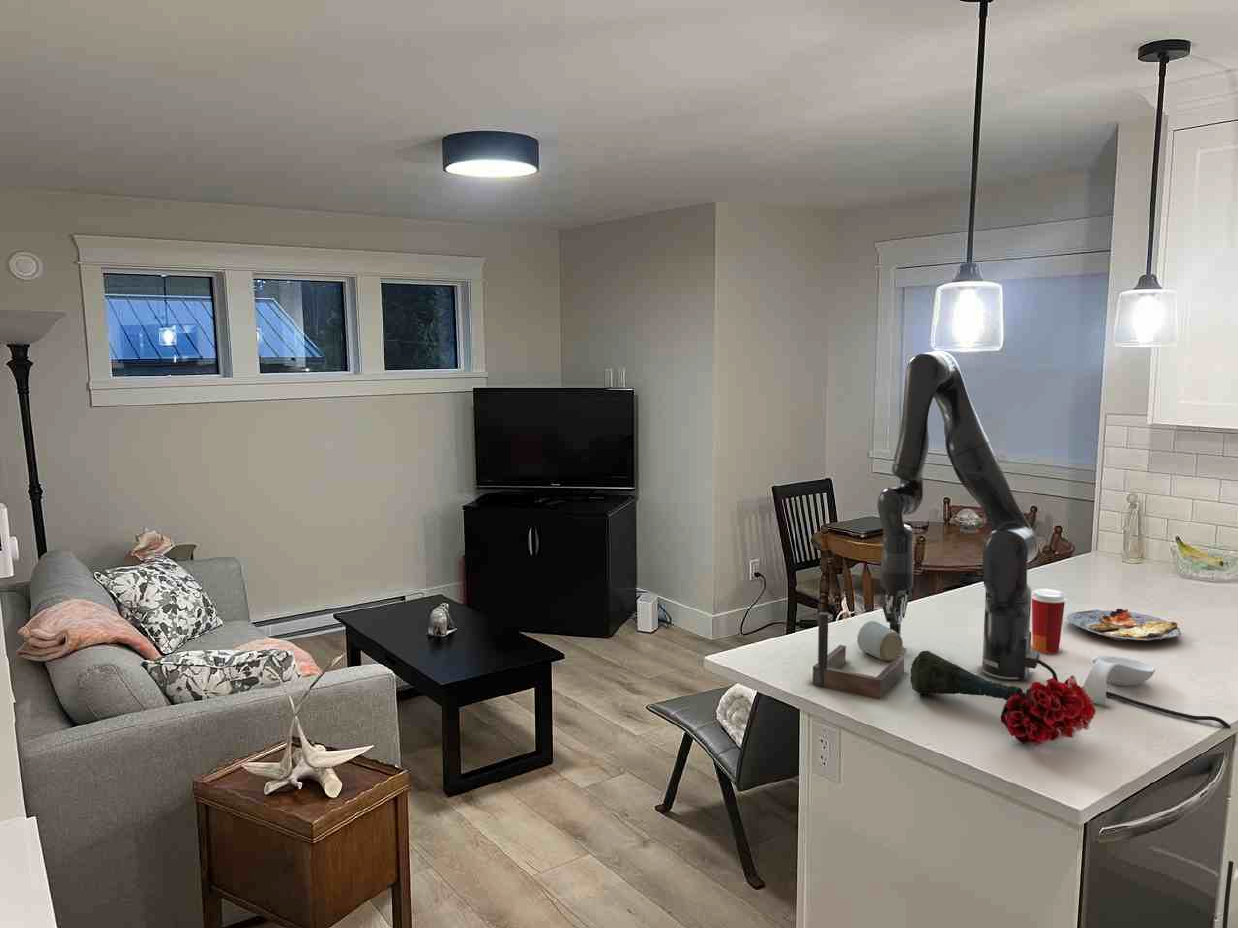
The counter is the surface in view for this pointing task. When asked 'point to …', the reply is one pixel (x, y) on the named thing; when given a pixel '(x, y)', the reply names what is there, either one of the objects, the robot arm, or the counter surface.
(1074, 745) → the counter surface
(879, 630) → the ceramic mug
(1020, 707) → the carnation
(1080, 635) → the counter surface
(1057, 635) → the paper cup
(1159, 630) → the food plate
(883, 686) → the wooden post tray
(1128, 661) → the spoon rest
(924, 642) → the counter surface
